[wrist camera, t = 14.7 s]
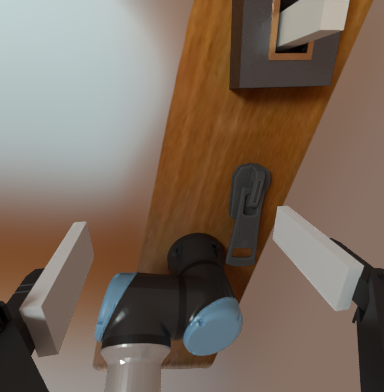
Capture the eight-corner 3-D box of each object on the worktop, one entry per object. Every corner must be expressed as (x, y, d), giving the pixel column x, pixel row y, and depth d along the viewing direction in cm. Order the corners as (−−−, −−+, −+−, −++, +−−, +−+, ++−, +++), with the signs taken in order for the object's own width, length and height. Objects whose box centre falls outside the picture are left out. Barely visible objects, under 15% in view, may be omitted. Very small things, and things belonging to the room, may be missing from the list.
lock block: (310, 86, 49) (331, 85, 43) (229, 88, 47) (240, 87, 41) (328, -23, 42) (356, -42, 36) (233, -27, 39) (246, -48, 34)
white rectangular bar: (282, 51, 45) (343, 30, 31) (265, 51, 45) (319, 29, 30) (286, 20, 43) (353, -18, 29) (268, 20, 43) (327, -19, 28)
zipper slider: (223, 266, 56) (245, 169, 47) (216, 250, 63) (235, 161, 53) (256, 266, 58) (284, 173, 49) (246, 251, 64) (270, 164, 55)
